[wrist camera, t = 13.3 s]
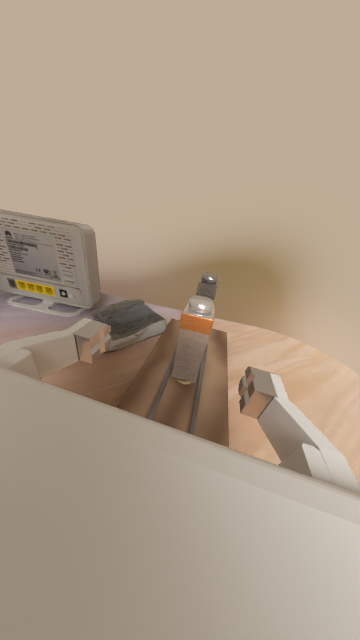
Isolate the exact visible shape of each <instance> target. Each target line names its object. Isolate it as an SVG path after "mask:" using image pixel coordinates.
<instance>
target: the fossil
mask: <svg viewBox="0 0 360 640" xmlns="http://www.w3.org/2000/svg"><path fill="white" fill-rule="evenodd" d="M90 314H91V315H92V316H94V317H96V318H98V319H100V320H102V321H103V322H102V323H105V324H108V325H110V326H111V332H110V333H109V334H110V336H111V344H110V346H109V348H108V349H107V350H106V351H105V352H109V351H116V350H120V349H122V348H125V347H127V346H129V345H132V344H134V343H138V342H140V341H143V340H145V339H148V338H151V337H153V336H157V335H160V334H162V333H163V332H164V331H165V329H166V327H167V325H166V321H165V319H164V318H163V317H161V316H160V315H158V314H157V313H155V312H154V311H153V310H151V309H150V308H149V307H148V306H146V305H145V304H144V301H143V300H125V301H122V302H119V303H115V304H112V305H109V306H104V307H101V308H99V309H96V310H93V311H92V312H91V313H90Z"/></svg>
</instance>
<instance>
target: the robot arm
mask: <svg viewBox="0 0 360 640" xmlns="http://www.w3.org/2000/svg"><path fill="white" fill-rule="evenodd" d="M110 332H111V326H110V325H108V324H105V323H102V322H99V321H95V320H92V319H89V318H83V319H82V320H80V321H79V322H77V323H75V324H74V325H72V326H71V327H69V328H67V329H66V330H64V331H61V330H60V331H55V332H50V333H46V334H41V335H36V336H31V337H27V338H22V339H17V340H13V341H8V342H5V343H3V344H1V345H0V640H360V485H359V483H358V481H357V479H356V477H355V476H354V474H353V472H352V470H351V468H350V466H349V464H348V462H347V460H346V458H345V456H344V455H343V454H342V453H341V452H340V451H339V450H338V449H337V448H336V447H335V446H334V445H333V444H332V443H331V442H330V441H329V440H328V439H327V438H326V437H325V435H324V434H323V433H322V432H321V431H320V430H319V429H318V428H317V427H316V426H315V425H314V424H313V423H312V422H311V421H310V420H309V419H308V418H307V417H306V416H305V415H304V414H303V413H302V412H301V411H300V410H299V409H298V408H297V407H296V406H295V404H294V403H292V402H289V399H288V396H287V394H286V391H285V389H284V386H283V383H282V381H281V378H280V376H279V375H278V374H275V373H271V372H266V371H263V370H260V369H256V368H253V367H248V368H247V369H246V371H245V374H246V375H245V376H243V377H242V378H241V380H240V383H239V395H240V396H241V400H240V401H239V402H240V413H241V414H244V415H247V416H250V417H253V418H255V419H258V420H257V421H258V422H259V424H260V426H261V427H262V429H263V431H264V432H265V434H266V436H267V438H268V439H269V441H270V443H271V444H272V446H273V448H274V449H275V451H276V453H277V455H278V456H279V458H280V460H281V461H282V462H281V463H280V464H279V465H276V464H273V463H270V462H268V461H265V460H262V459H259V458H256V457H254V456H251V455H248V454H245V453H242V452H240V451H237V450H234V449H231V448H228V447H226V446H223V445H220V444H217V443H214V442H211V441H209V440H206V439H203V438H200V437H197V436H195V435H192V434H189V433H186V432H183V431H180V430H178V429H175V428H172V427H169V426H166V425H164V424H161V423H158V422H155V421H152V420H150V419H147V418H144V417H141V416H138V415H136V414H133V413H130V412H127V411H124V410H122V409H119V408H116V407H113V406H110V405H108V404H105V403H102V402H99V401H96V400H94V399H91V398H88V397H85V396H82V395H80V394H77V393H74V392H71V391H68V390H66V389H63V388H60V387H57V386H54V385H52V384H49V383H46V382H43V381H42V380H41V378H42V377H45V376H47V375H49V374H51V373H53V372H56V371H58V370H60V369H62V368H65V367H67V366H69V365H71V364H73V363H76V362H78V361H79V360H80V361H83V362H86V363H90V364H94V363H95V362H96V361H97V360H98V359H99V358H100V354H101V353H103V352H105V351H106V350H107V349H108V348H109V346H110V344H111V336H110V334H109V333H110Z"/></svg>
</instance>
